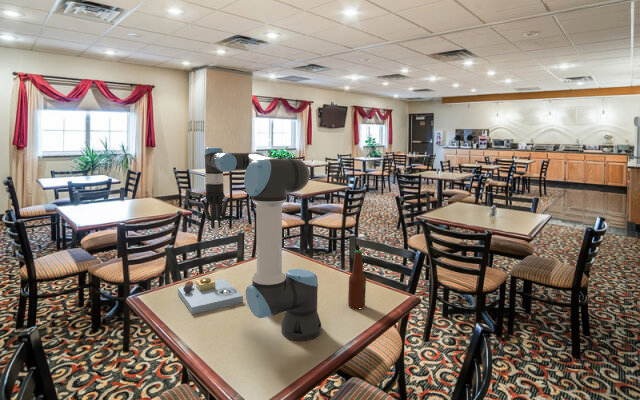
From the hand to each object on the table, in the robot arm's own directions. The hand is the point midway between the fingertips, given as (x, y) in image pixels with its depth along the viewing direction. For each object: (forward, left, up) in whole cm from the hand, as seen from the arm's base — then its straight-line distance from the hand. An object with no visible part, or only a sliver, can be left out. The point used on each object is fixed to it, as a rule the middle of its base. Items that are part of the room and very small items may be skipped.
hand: (216, 235), depth 166 cm
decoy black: (+3, +12, -25) cm, 28 cm away
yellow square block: (+5, +4, -25) cm, 26 cm away
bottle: (-43, -47, -29) cm, 70 cm away
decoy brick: (+8, +10, -25) cm, 29 cm away
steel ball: (-5, -1, -27) cm, 28 cm away
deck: (-1, +4, -28) cm, 29 cm away
